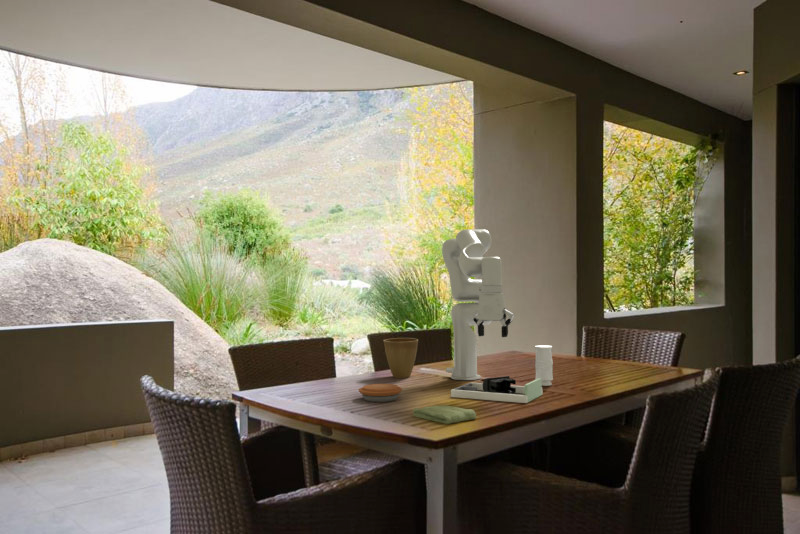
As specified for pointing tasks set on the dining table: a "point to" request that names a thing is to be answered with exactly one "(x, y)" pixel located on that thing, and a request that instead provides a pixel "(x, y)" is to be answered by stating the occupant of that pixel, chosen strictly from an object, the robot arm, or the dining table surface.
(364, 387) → the pie
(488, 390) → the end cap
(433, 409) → the washcloth
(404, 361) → the plant pot
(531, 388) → the finger lane
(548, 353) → the candle
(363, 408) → the dining table surface
